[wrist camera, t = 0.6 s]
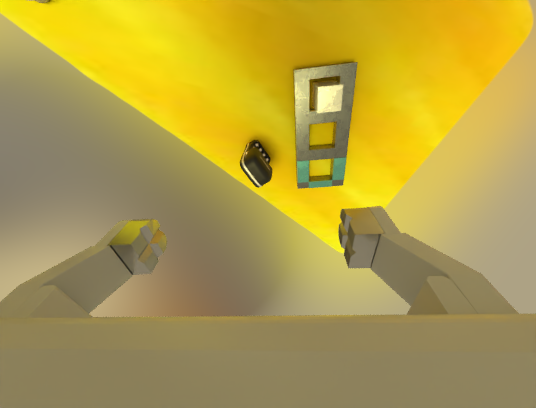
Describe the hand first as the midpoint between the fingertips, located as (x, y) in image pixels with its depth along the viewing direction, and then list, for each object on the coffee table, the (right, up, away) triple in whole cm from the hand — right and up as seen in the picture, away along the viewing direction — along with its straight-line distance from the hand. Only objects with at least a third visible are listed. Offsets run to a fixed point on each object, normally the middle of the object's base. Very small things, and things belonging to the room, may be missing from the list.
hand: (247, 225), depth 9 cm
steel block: (+12, +23, +32) cm, 41 cm away
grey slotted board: (+13, +17, +37) cm, 42 cm away
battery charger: (-1, +13, +40) cm, 42 cm away
